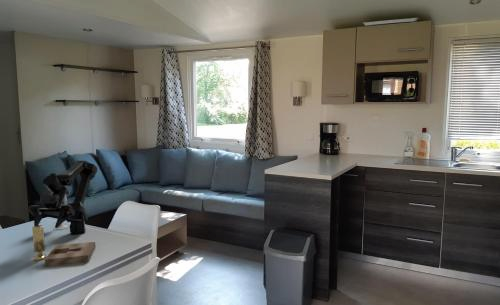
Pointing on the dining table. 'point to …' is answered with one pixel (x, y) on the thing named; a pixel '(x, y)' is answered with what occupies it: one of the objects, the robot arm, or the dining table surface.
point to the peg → (38, 242)
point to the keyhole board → (70, 254)
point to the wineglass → (61, 224)
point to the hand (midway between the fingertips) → (45, 227)
